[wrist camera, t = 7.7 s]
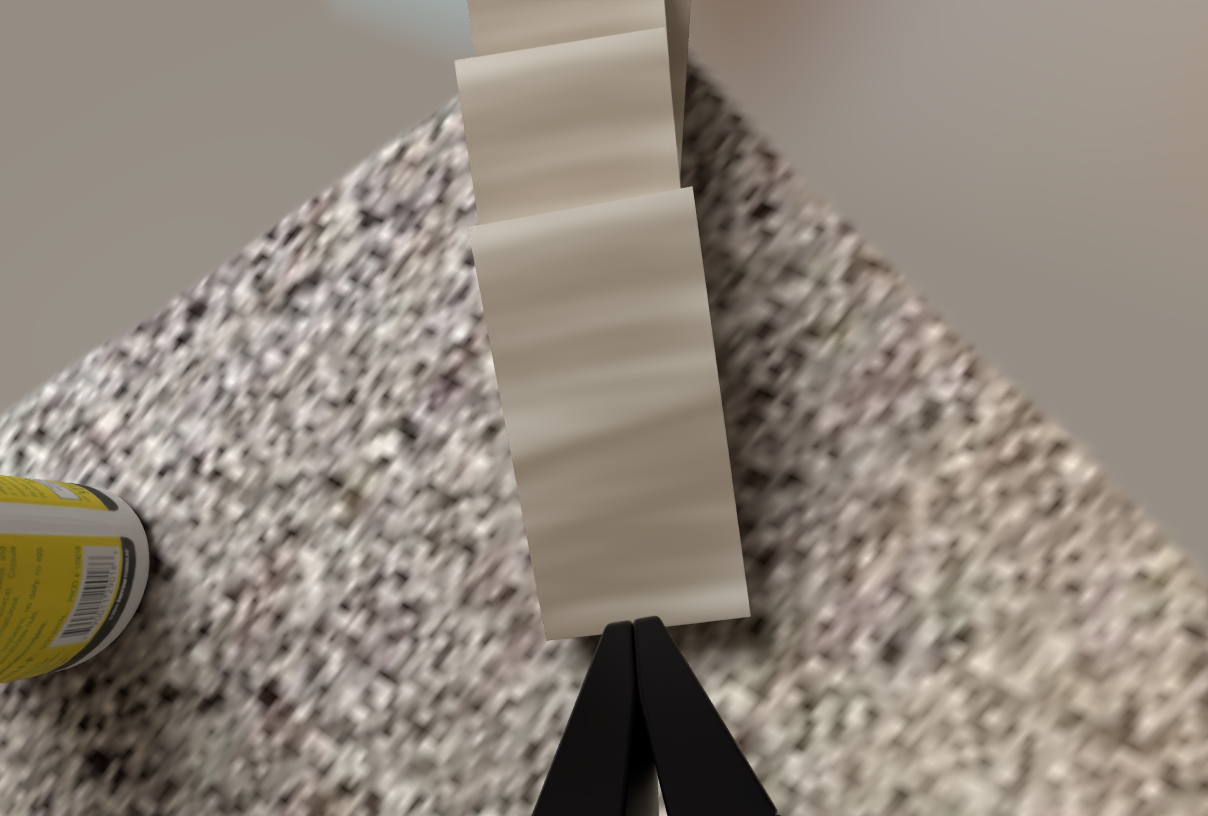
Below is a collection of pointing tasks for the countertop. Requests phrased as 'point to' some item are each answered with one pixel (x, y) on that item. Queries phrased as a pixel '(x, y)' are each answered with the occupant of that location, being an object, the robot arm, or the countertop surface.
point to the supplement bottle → (64, 573)
